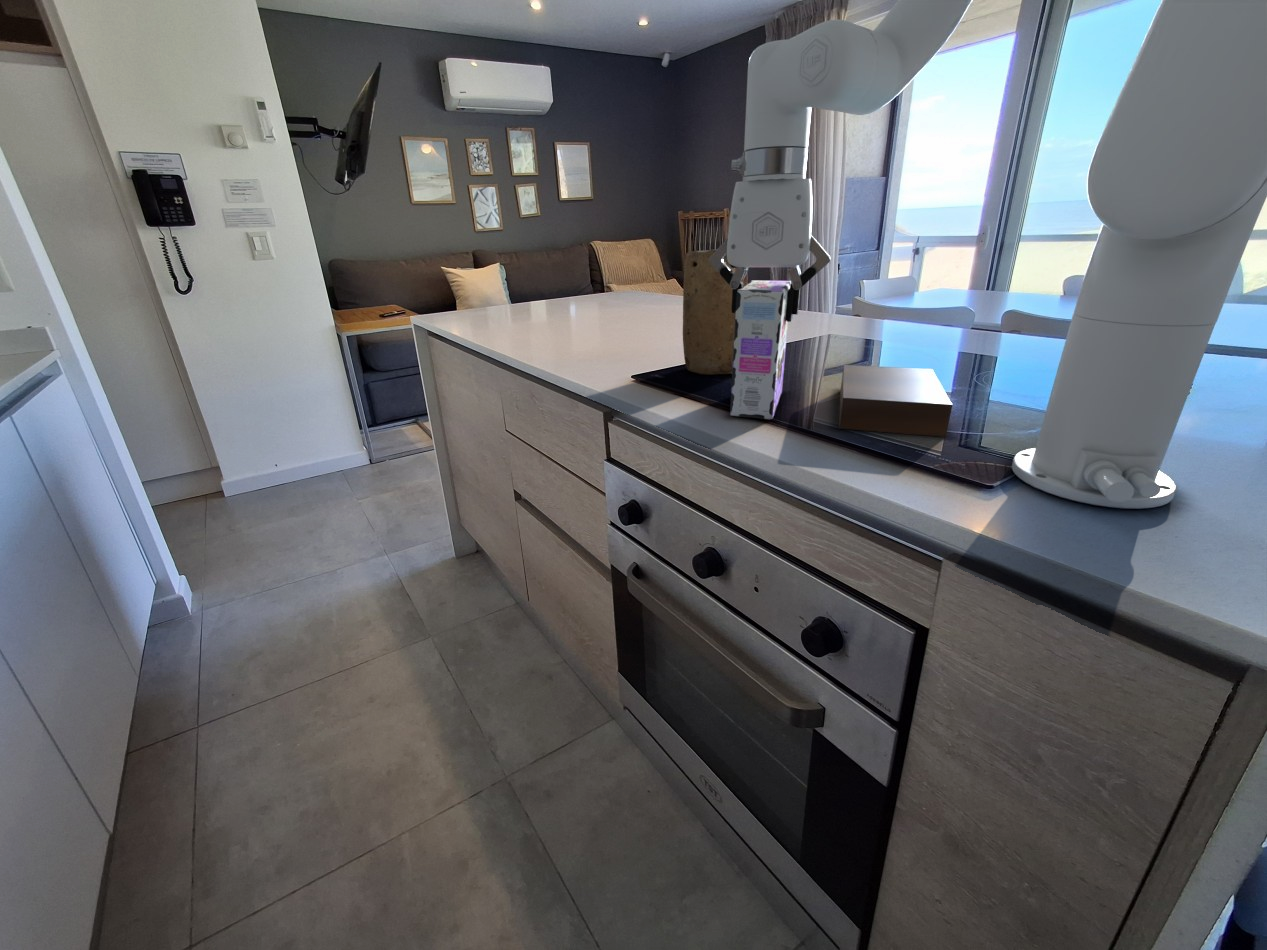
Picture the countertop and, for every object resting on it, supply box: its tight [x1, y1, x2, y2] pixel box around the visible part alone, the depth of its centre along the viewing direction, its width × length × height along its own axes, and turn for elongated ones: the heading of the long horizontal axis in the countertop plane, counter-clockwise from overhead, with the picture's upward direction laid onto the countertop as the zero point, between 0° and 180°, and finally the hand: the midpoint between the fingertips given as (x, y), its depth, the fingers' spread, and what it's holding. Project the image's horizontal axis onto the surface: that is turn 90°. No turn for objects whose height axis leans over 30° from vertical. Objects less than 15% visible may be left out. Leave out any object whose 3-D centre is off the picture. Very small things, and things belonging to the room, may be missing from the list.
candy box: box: [729, 279, 792, 420], centre depth 78 cm, size 14×6×16 cm, turn 161°
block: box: [682, 249, 749, 376], centre depth 96 cm, size 11×8×20 cm
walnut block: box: [838, 364, 953, 438], centre depth 76 cm, size 18×12×4 cm, turn 161°
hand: (764, 318), depth 77 cm, fingers closed on candy box, 5 cm apart
